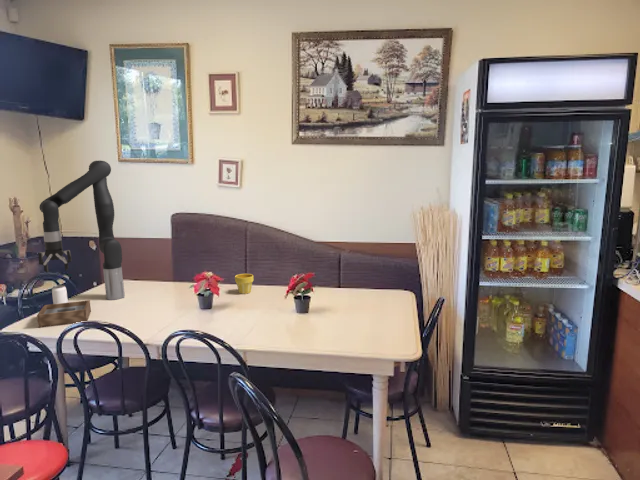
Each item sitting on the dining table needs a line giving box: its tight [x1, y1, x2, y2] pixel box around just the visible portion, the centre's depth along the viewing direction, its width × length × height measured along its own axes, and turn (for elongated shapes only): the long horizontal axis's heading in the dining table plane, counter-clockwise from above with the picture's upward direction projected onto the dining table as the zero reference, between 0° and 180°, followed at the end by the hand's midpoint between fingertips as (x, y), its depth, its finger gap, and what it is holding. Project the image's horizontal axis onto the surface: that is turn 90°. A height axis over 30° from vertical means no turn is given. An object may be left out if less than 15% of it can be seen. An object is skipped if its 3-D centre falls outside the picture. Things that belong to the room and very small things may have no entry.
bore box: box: [36, 299, 92, 329], centre depth 217 cm, size 20×16×6 cm
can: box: [51, 284, 69, 304], centre depth 232 cm, size 6×6×12 cm
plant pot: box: [234, 273, 254, 295], centre depth 256 cm, size 10×10×10 cm
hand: (56, 271), depth 229 cm, fingers open, 8 cm apart
